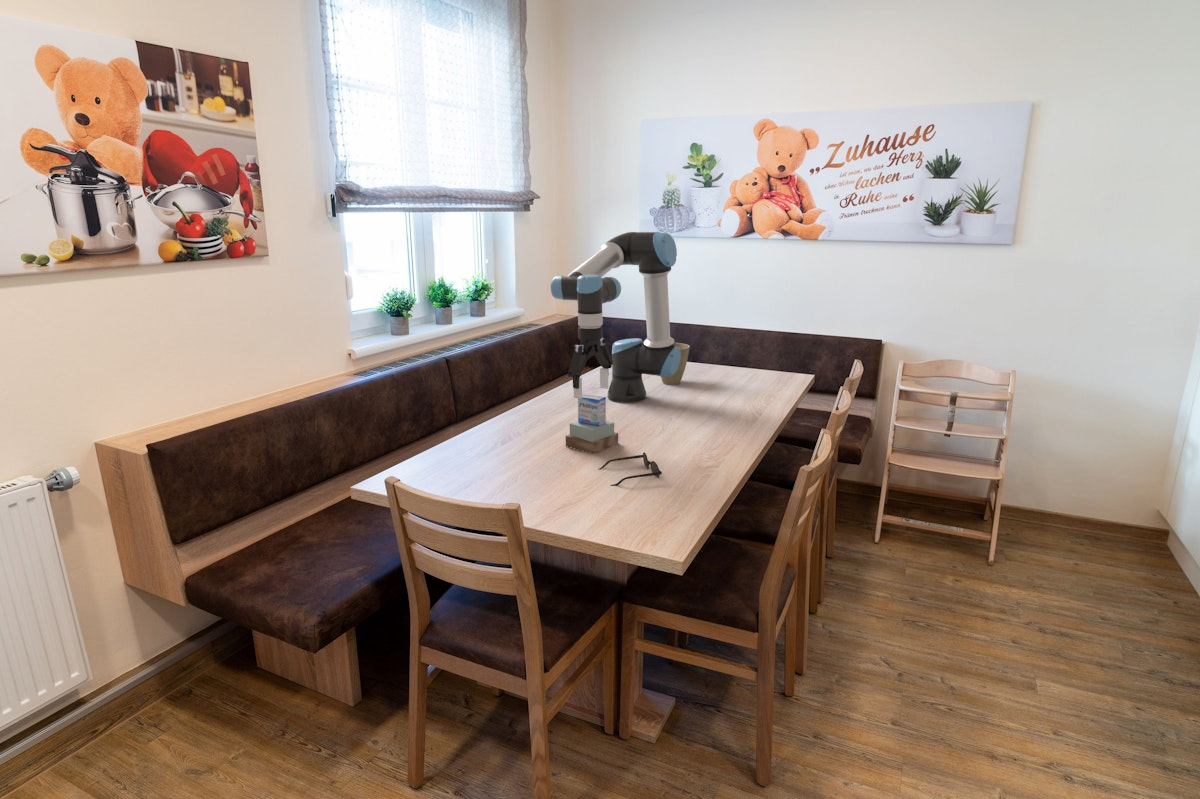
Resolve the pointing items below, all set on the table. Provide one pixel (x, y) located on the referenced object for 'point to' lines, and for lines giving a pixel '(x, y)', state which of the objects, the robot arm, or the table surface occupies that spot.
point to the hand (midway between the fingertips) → (591, 393)
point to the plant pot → (679, 373)
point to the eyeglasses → (653, 465)
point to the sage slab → (591, 431)
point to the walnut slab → (592, 443)
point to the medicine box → (592, 410)
